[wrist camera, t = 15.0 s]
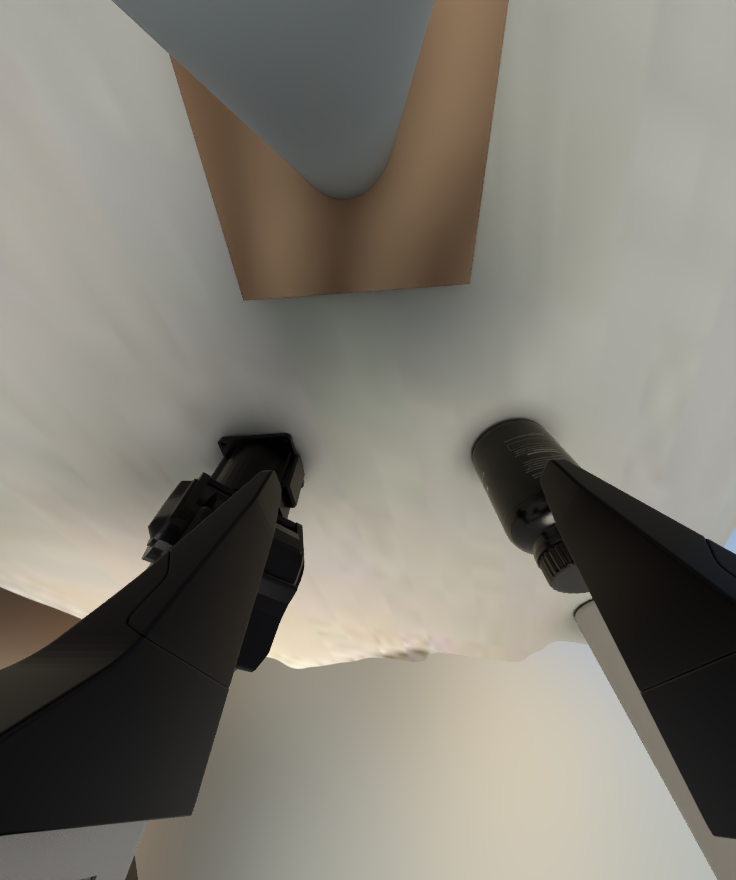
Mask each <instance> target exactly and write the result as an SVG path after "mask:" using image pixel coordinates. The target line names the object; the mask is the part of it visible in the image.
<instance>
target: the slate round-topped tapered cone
mask: <svg viewBox="0 0 736 880" xmlns="http://www.w3.org/2000/svg"><path fill="white" fill-rule="evenodd" d="M112 1H113V2H114V3H115V4H116V5H117V6H118V7H119V8H121V9H122V10H123V11H124V12H125V13H126V14H127V15H128V16H129V17H130V18H131V19H132V20H134V21H135V22H136V23H137V24H138V25H139V26H140V27H141V28H142V29H143V30H144V31H145V32H146V33H148V34H149V35H150V36H151V37H152V38H153V39H154V40H155V41H156V42H157V43H158V44H159V45H161V46H162V47H163V48H164V49H165V50H166V51H167V52H168V53H169V54H170V55H171V56H172V57H173V58H175V59H176V60H177V61H178V62H179V63H180V64H181V65H182V66H183V67H184V68H185V69H186V70H188V71H189V72H190V73H191V74H192V75H193V76H194V77H195V78H196V79H197V80H198V81H199V82H200V83H202V84H203V85H204V86H205V87H206V88H207V89H208V90H209V91H210V92H211V93H212V94H213V95H215V96H216V97H217V98H218V99H219V100H220V101H221V102H222V103H223V104H224V105H225V106H226V107H227V108H229V109H230V110H231V111H232V112H233V113H234V114H235V115H236V116H237V117H238V118H239V119H240V120H242V121H243V122H244V123H245V124H246V125H247V126H248V127H249V128H250V129H251V130H252V131H253V132H254V133H256V134H257V135H258V136H259V137H260V138H261V139H262V140H263V141H264V142H265V143H266V144H267V145H269V146H270V147H271V148H272V149H273V150H274V151H275V152H276V153H277V154H278V155H279V156H280V157H281V158H283V159H284V160H285V161H286V162H287V163H288V164H289V165H290V166H291V167H292V168H293V169H294V170H296V171H297V172H298V173H299V174H300V175H301V176H302V177H303V178H304V179H305V180H306V181H307V182H308V183H310V184H311V185H312V186H313V187H314V188H315V189H316V190H318V191H319V192H321V193H322V194H324V195H326V196H329V197H332V198H336V199H350V198H354V197H357V196H360V195H361V194H363V193H365V192H366V191H368V190H369V189H370V188H371V187H372V186H373V185H374V184H375V183H376V182H377V181H378V179H379V178H380V177H381V175H382V173H383V172H384V170H385V168H386V166H387V163H388V161H389V158H390V155H391V152H392V149H393V145H394V142H395V138H396V135H397V131H398V128H399V124H400V121H401V117H402V113H403V110H404V106H405V103H406V99H407V96H408V92H409V89H410V85H411V82H412V78H413V75H414V71H415V68H416V64H417V60H418V57H419V53H420V50H421V46H422V43H423V39H424V36H425V32H426V29H427V25H428V22H429V18H430V15H431V11H432V7H433V4H434V0H112Z"/></svg>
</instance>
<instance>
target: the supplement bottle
mask: <svg viewBox="0 0 736 880" xmlns="http://www.w3.org/2000/svg"><path fill="white" fill-rule="evenodd" d="M560 458H562V459H566V460H568V461H569V462H571V463H573V464H575V465H576V466H578V467H580V466H579V465H578V464H577V463H576V462H575V461H574V460H573V458H572V457H571V456H570V455H569V454H568V453H567V452H566V451H565V450H564V449H563V448H562V447H561V446H560V444H559V443H558V442H557V441H556V440H555V439H554V438H553V437H552V436H551V435H550V434H549V433H548V432H547V431H546V430H545V429H544V428H543V427H542V426H540V425H539V424H537V423H534V422H531V421H525V420H517V421H510V422H506V423H503V424H500V425H498V426H496V427H494V428H492V429H491V430H489V431H488V432H486V433H485V434H484V435H483V436H482V437H481V438H480V439H479V441H478V442H477V444H476V445H475V448H474V450H473V455H472V460H473V464H474V467H475V469H476V471H477V474H478V476H479V478H480V480H481V482H482V484H483V486H484V488H485V491H486V493H487V495H488V497H489V499H490V501H491V503H492V505H493V507H494V509H495V512H496V514H497V516H498V518H499V520H500V522H501V524H502V526H503V528H504V530H505V532H506V534H507V536H508V538H509V539H510V541H511V542H512V543H513V544H514V545H515V546H516V547H518V548H519V549H521V550H522V551H524V552H527V553H529V554H532V555H534V559H535V561H536V563H537V565H538V567H539V568H540V569H541V570H542V572H543V574H544V576H545V578H546V579H547V581H548V583H549V585H550V586H551V587H552V588H553V589H554V590H557V591H558V592H563V593H586V592H589V590H588V588H587V586H586V584H585V582H584V580H583V578H582V576H581V574H580V572H579V570H578V568H577V566H576V564H575V562H574V560H573V558H572V556H571V554H570V552H569V550H568V548H567V546H566V544H565V542H564V540H563V538H562V536H561V534H560V532H559V530H558V528H557V526H556V524H555V521H554V519H553V516H552V513H551V510H550V508H549V505H548V502H547V500H546V497H545V494H544V492H543V489H542V486H541V483H540V477H541V475H542V472H543V470H544V468H545V466H546V463H547V461H548V460H550V459H560ZM580 468H581V467H580Z"/></svg>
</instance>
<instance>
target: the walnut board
mask: <svg viewBox="0 0 736 880" xmlns="http://www.w3.org/2000/svg"><path fill="white" fill-rule="evenodd" d="M508 1H509V0H434V4H433V7H432V11H431V15H430V18H429V22H428V25H427V29H426V32H425V36H424V39H423V43H422V46H421V50H420V53H419V57H418V60H417V64H416V68H415V71H414V75H413V78H412V82H411V85H410V89H409V92H408V96H407V99H406V103H405V106H404V110H403V113H402V117H401V121H400V124H399V128H398V131H397V135H396V138H395V142H394V145H393V149H392V152H391V155H390V158H389V161H388V163H387V166H386V168H385V170H384V172H383V173H382V175H381V177H380V178H379V179H378V181H377V182H376V183H375V184H374V185H373V186H372V187H371V188H370V189H369V190H368V191H366V192H365V193H363V194H361V195H360V196H357V197H354V198H350V199H336V198H332V197H329V196H326V195H324V194H322V193H321V192H319V191H318V190H316V189H315V188H314V187H313V186H312V185H311V184H310V183H308V182H307V181H306V180H305V179H304V178H303V177H302V176H301V175H300V174H299V173H298V172H297V171H296V170H294V169H293V168H292V167H291V166H290V165H289V164H288V163H287V162H286V161H285V160H284V159H283V158H281V157H280V156H279V155H278V154H277V153H276V152H275V151H274V150H273V149H272V148H271V147H270V146H269V145H267V144H266V143H265V142H264V141H263V140H262V139H261V138H260V137H259V136H258V135H257V134H256V133H254V132H253V131H252V130H251V129H250V128H249V127H248V126H247V125H246V124H245V123H244V122H243V121H242V120H240V119H239V118H238V117H237V116H236V115H235V114H234V113H233V112H232V111H231V110H230V109H229V108H227V107H226V106H225V105H224V104H223V103H222V102H221V101H220V100H219V99H218V98H217V97H216V96H215V95H213V94H212V93H211V92H210V91H209V90H208V89H207V88H206V87H205V86H204V85H203V84H202V83H200V82H199V81H198V80H197V79H196V78H195V77H194V76H193V75H192V74H191V73H190V72H189V71H188V70H186V69H185V68H184V67H183V66H182V65H181V64H180V63H179V62H178V61H177V60H176V59H175V58H173V57H172V56H171V55H170V54H169V55H170V58H171V62H172V65H173V68H174V72H175V75H176V78H177V82H178V85H179V88H180V92H181V95H182V98H183V101H184V105H185V108H186V111H187V115H188V118H189V121H190V125H191V128H192V131H193V135H194V138H195V141H196V145H197V148H198V151H199V154H200V158H201V161H202V164H203V168H204V171H205V174H206V178H207V181H208V184H209V188H210V191H211V194H212V198H213V201H214V204H215V207H216V211H217V214H218V217H219V221H220V224H221V227H222V231H223V234H224V237H225V241H226V244H227V247H228V250H229V254H230V257H231V260H232V264H233V267H234V270H235V274H236V277H237V280H238V284H239V287H240V290H241V294H242V297H243V300H258V299H271V298H285V297H299V296H312V295H326V294H340V293H353V292H367V291H381V290H394V289H408V288H422V287H435V286H449V285H462V284H470V278H471V270H472V263H473V256H474V248H475V241H476V234H477V227H478V219H479V212H480V205H481V197H482V190H483V183H484V176H485V168H486V161H487V154H488V146H489V139H490V132H491V125H492V117H493V110H494V103H495V95H496V88H497V81H498V74H499V66H500V59H501V52H502V45H503V37H504V30H505V23H506V15H507V8H508Z"/></svg>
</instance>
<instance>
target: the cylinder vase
mask: <svg viewBox="0 0 736 880" xmlns="http://www.w3.org/2000/svg"><path fill="white" fill-rule="evenodd" d="M575 620H576V623H577V624H578V626H579V628H580V630H581V632H582V634H583V635H584V637H585V639H586V641H587V643H588V644H589V646H590V648H591V650H592V652H593V654H594V655H595V657H596V659H597V661H598V663H599V664H600V666H601V668H602V670H603V672H604V674H605V675H606V677H607V679H608V681H609V683H610V684H611V686H612V688H613V690H614V692H615V694H616V695H617V697H618V699H619V701H620V703H621V704H622V706H623V708H624V710H625V712H626V714H627V716H628V717H629V719H630V721H631V723H632V725H633V726H634V728H635V730H636V732H637V734H638V736H639V737H640V739H641V741H642V743H643V745H644V746H645V748H646V750H647V752H648V754H649V756H650V757H651V759H652V761H653V763H654V765H655V767H656V768H657V770H658V772H659V774H660V776H661V777H662V779H663V781H664V783H665V785H666V786H667V788H668V790H669V792H670V794H671V795H672V798H673V799H674V801H675V802H676V805H677V807H678V808H679V810H680V812H681V814H682V816H683V818H684V819H685V821H686V823H687V825H688V827H689V828H690V830H691V832H692V834H693V836H694V837H695V839H696V841H697V843H698V845H699V847H700V848H701V850H702V852H703V854H704V856H705V857H706V859H707V861H708V863H709V865H710V867H711V869H712V870H713V872H714V874H715V876H716V877H717V880H736V839H729V838H722V837H715V836H713V835H712V833H711V831H710V830H709V828H708V826H707V825H706V823H705V821H704V819H703V817H702V815H701V813H700V811H699V809H698V807H697V805H696V803H695V801H694V799H693V797H692V795H691V793H690V791H689V789H688V787H687V785H686V783H685V781H684V779H683V777H682V775H681V773H680V771H679V769H678V767H677V765H676V763H675V761H674V759H673V757H672V755H671V753H670V752H669V750H668V748H667V746H666V744H665V742H664V740H663V738H662V736H661V734H660V732H659V730H658V728H657V726H656V724H655V722H654V720H653V718H652V716H651V714H650V712H649V710H648V708H647V706H646V704H645V702H644V700H643V698H642V696H641V694H640V692H641V691H639V689H638V687H637V685H636V683H635V681H634V680H633V678H632V676H631V674H630V672H629V670H628V668H627V666H626V664H625V662H624V660H623V658H622V656H621V654H620V652H619V650H618V648H617V646H616V644H615V642H614V640H613V638H612V636H611V634H610V632H609V630H608V628H607V626H606V624H605V622H604V620H603V618H602V616H601V614H600V612H599V610H598V608H597V606H596V604H595V602H594V600H592V601H590V602H588V603H586V604H585V605H583V606H582V607H581V608H579V609H578V611H577V612H576V614H575Z"/></svg>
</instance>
